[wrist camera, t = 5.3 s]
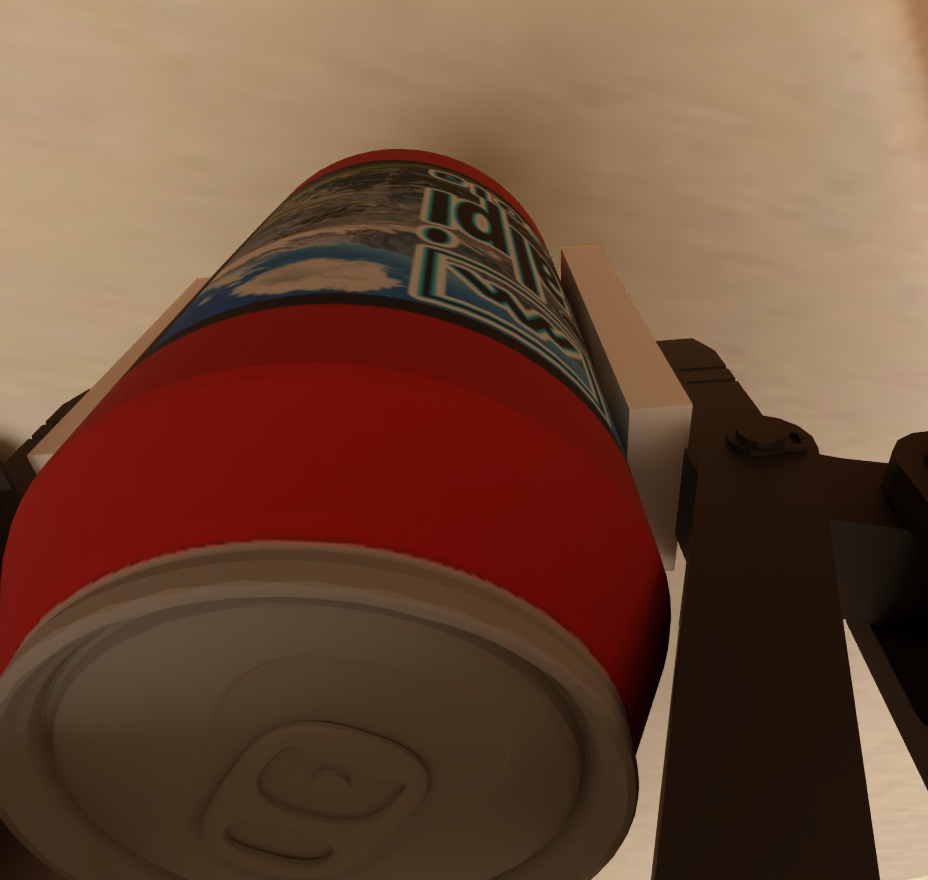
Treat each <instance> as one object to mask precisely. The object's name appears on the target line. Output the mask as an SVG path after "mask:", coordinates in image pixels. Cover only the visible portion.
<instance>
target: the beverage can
mask: <svg viewBox="0 0 928 880" xmlns="http://www.w3.org/2000/svg"><path fill="white" fill-rule="evenodd" d="M670 623H671V606H670V593H669V587H668V581H667V576H666V573H665V569H664V566H663V563H662V559H661V556H660V553H659V550H658V547H657V545H656V542H655V539H654V536H653V533H652V530H651V527H650V524H649V522H648V519H647V516H646V513H645V510H644V507H643V504H642V502H641V499H640V496H639V493H638V490H637V487H636V484H635V482H634V479H633V476H632V473H631V470H630V467H629V464H628V461H627V459H626V456H625V453H624V450H623V447H622V444H621V441H620V439H619V436H618V433H617V430H616V428H615V425H614V422H613V419H612V417H611V414H610V411H609V408H608V406H607V403H606V400H605V397H604V395H603V392H602V389H601V386H600V384H599V381H598V378H597V376H596V373H595V370H594V367H593V365H592V362H591V359H590V356H589V354H588V351H587V348H586V345H585V343H584V340H583V338H582V335H581V332H580V330H579V327H578V325H577V322H576V320H575V317H574V314H573V312H572V309H571V307H570V304H569V302H568V299H567V296H566V294H565V291H564V289H563V286H562V284H561V281H560V279H559V276H558V274H557V272H556V269H555V267H554V264H553V262H552V259H551V257H550V255H549V252H548V250H547V248H546V245H545V243H544V240H543V238H542V236H541V234H540V233H539V231H538V229H537V227H536V225H535V224H534V222H533V221H532V219H531V218H530V216H529V215H528V213H527V212H526V211H525V210H524V208H523V207H522V206H521V205H520V203H519V202H518V201H517V200H516V199H515V198H514V197H513V196H512V195H511V194H510V193H509V192H508V191H506V190H505V189H504V188H503V187H502V186H501V185H500V184H498V183H497V182H496V181H494V180H493V179H491V178H490V177H489V176H487V175H486V174H484V173H482V172H480V171H479V170H477V169H475V168H473V167H471V166H469V165H467V164H465V163H463V162H461V161H458V160H455V159H452V158H450V157H447V156H443V155H439V154H436V153H432V152H425V151H419V150H408V149H387V150H378V151H371V152H367V153H362V154H358V155H355V156H351V157H348V158H345V159H343V160H340V161H338V162H336V163H333V164H331V165H329V166H328V167H326V168H324V169H322V170H320V171H319V172H317V173H316V174H314V175H313V176H311V177H310V178H308V179H307V180H306V181H305V182H303V183H302V184H301V185H300V186H299V187H298V188H296V189H295V190H294V191H293V192H292V193H291V194H290V196H289V197H288V198H287V199H286V200H285V201H284V202H283V203H282V204H281V205H280V206H279V207H278V208H277V209H276V210H275V211H274V212H273V213H272V214H271V215H270V216H269V217H268V218H267V219H266V220H265V221H264V222H263V223H262V224H261V225H260V226H259V227H258V228H257V229H256V230H255V231H254V232H253V233H252V234H251V236H250V237H249V238H248V239H247V240H246V241H245V242H244V243H243V244H242V245H241V246H240V247H239V248H238V249H237V250H236V251H235V252H234V254H233V255H232V256H231V257H230V258H229V259H228V260H227V261H226V262H225V263H224V264H223V265H222V266H221V267H220V268H219V269H218V270H217V272H216V273H215V274H214V275H213V276H212V277H211V278H210V279H209V280H208V281H207V283H206V284H205V285H204V286H203V287H202V288H201V289H200V290H199V291H198V292H197V294H196V295H195V296H194V297H193V298H192V299H191V300H190V301H189V302H188V303H187V305H186V306H185V307H184V308H183V309H182V310H181V311H180V312H179V313H178V314H177V316H176V317H175V318H174V319H173V320H172V321H171V322H170V323H169V324H168V325H167V327H166V328H165V329H164V330H163V331H162V332H161V333H160V334H159V335H158V336H157V338H156V339H155V340H154V341H153V342H152V343H151V344H150V345H149V346H148V348H147V349H146V350H145V351H144V352H143V353H142V354H141V356H140V357H139V358H138V359H137V360H136V361H135V362H134V363H133V365H132V366H131V367H130V368H129V369H128V370H127V371H126V373H125V374H124V375H123V376H122V377H121V378H120V379H119V381H118V382H117V383H116V384H115V385H114V386H113V387H112V389H111V390H110V391H109V392H108V393H107V394H106V395H105V396H104V398H103V399H102V400H101V401H100V402H99V403H98V404H97V406H96V407H95V408H94V409H93V410H92V411H91V412H90V414H89V415H88V416H87V417H86V418H85V419H84V420H83V422H82V423H81V424H80V425H79V426H78V427H77V428H76V429H75V431H74V432H73V433H72V434H71V435H70V436H69V437H68V439H67V440H66V441H65V442H64V443H63V444H62V445H61V447H60V448H59V449H58V450H57V451H56V452H55V453H54V455H53V456H52V457H51V458H50V459H49V460H48V461H47V463H46V464H45V465H44V467H43V468H42V469H41V470H40V472H39V473H38V474H37V476H36V477H35V478H34V480H33V481H32V482H31V484H30V486H29V488H28V489H27V491H26V493H25V495H24V496H23V498H22V500H21V502H20V504H19V506H18V509H17V511H16V514H15V516H14V519H13V521H12V524H11V528H10V532H9V536H8V540H7V544H6V548H5V552H4V556H3V563H2V573H1V599H0V818H1V820H2V821H3V822H4V824H5V825H6V827H7V828H8V829H9V830H10V832H11V833H12V834H13V835H14V836H15V837H16V838H17V839H18V841H20V842H21V843H22V844H23V845H24V846H25V847H26V848H27V849H28V850H29V851H30V852H31V853H32V854H33V855H34V856H35V857H37V858H38V859H39V860H40V861H42V862H43V863H44V864H45V865H46V866H48V867H49V868H51V869H52V870H53V871H55V872H56V873H58V874H59V875H61V876H62V877H64V878H65V879H66V880H591V879H592V878H593V877H594V876H596V875H597V874H598V873H599V872H600V871H601V869H602V868H603V867H604V866H605V865H606V864H607V863H608V862H609V861H610V860H611V859H612V858H613V856H614V855H615V853H616V852H617V850H618V849H619V847H620V846H621V844H622V843H623V841H624V839H625V837H626V836H627V834H628V832H629V829H630V826H631V824H632V821H633V819H634V816H635V812H636V807H637V801H638V792H639V778H638V767H637V761H636V753H637V750H638V747H639V744H640V741H641V738H642V734H643V731H644V728H645V725H646V722H647V719H648V716H649V713H650V709H651V706H652V703H653V700H654V697H655V694H656V691H657V688H658V685H659V681H660V678H661V675H662V672H663V669H664V665H665V660H666V656H667V651H668V644H669V635H670Z"/></svg>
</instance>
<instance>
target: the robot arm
mask: <svg viewBox="0 0 928 880" xmlns="http://www.w3.org/2000/svg"><path fill="white" fill-rule="evenodd" d="M209 279H210V278H200V279H196V280H195V281H194V282H193V283H192V284H191V285H190V287H189V288H188V289H187V290H186V291H185V292H184V293H183V294H182V295H181V296H180V297H179V298H178V299H177V300H176V301H175V302H174V303H173V304H172V305H171V306H170V307H169V308H168V309H167V310H166V311H165V313H164V314H163V315H162V316H161V317H160V318H159V319H158V320H157V321H156V322H155V323H154V324H153V325H152V326H151V327H150V328H149V329H148V330H147V331H146V332H145V333H144V334H143V335H142V336H141V337H140V338H139V340H138V341H137V342H136V343H135V344H134V345H133V346H132V347H131V348H130V349H129V350H128V351H127V352H126V353H125V354H124V355H123V356H122V357H121V358H120V359H119V360H118V361H117V362H116V363H115V364H114V365H113V367H112V368H111V369H110V370H109V371H108V372H107V373H106V374H105V375H104V376H103V377H102V378H101V379H100V380H99V381H98V382H97V383H96V384H95V385H94V386H93V387H92V388H91V389H88V390H87V391H85V392H83V393H82V394H80V395H78V396H76V397H75V398H73V399H71V400H70V401H68V402H66V403H65V404H63V405H62V406H61V407H60V408H59V409H58V410H57V411H56V412H55V413H54V414H53V415H52V416H51V417H50V418H49V419H48V420H47V421H46V425H42V426H41V427H40V428H39V429H38V430H37V431H36V432H35V433H34V434H33V435H32V439H28V440H27V441H26V442H25V443H24V444H23V445H22V446H21V447H20V448H19V449H18V450H17V451H16V452H15V453H14V454H13V455H12V456H11V457H10V458H9V459H8V460H7V461H6V462H5V463H4V464H2V462H1V460H0V599H1V573H2V563H3V556H4V552H5V548H6V544H7V540H8V536H9V532H10V528H11V524H12V521H13V519H14V516H15V514H16V511H17V509H18V506H19V504H20V502H21V500H22V498H23V496H24V495H25V493H26V491H27V489H28V488H29V486H30V484H31V482H32V481H33V480H34V478H35V477H36V476H37V474H38V473H39V472H40V470H41V469H42V468H43V467H44V465H45V464H46V463H47V461H48V460H49V459H50V458H51V457H52V456H53V455H54V453H55V452H56V451H57V450H58V449H59V448H60V447H61V445H62V444H63V443H64V442H65V441H66V440H67V439H68V437H69V436H70V435H71V434H72V433H73V432H74V431H75V429H76V428H77V427H78V426H79V425H80V424H81V423H82V422H83V420H84V419H85V418H86V417H87V416H88V415H89V414H90V412H91V411H92V410H93V409H94V408H95V407H96V406H97V404H98V403H99V402H100V401H101V400H102V399H103V398H104V396H105V395H106V394H107V393H108V392H109V391H110V390H111V389H112V387H113V386H114V385H115V384H116V383H117V382H118V381H119V379H120V378H121V377H122V376H123V375H124V374H125V373H126V371H127V370H128V369H129V368H130V367H131V366H132V365H133V363H134V362H135V361H136V360H137V359H138V358H139V357H140V356H141V354H142V353H143V352H144V351H145V350H146V349H147V348H148V346H149V345H150V344H151V343H152V342H153V341H154V340H155V339H156V338H157V336H158V335H159V334H160V333H161V332H162V331H163V330H164V329H165V328H166V327H167V325H168V324H169V323H170V322H171V321H172V320H173V319H174V318H175V317H176V316H177V314H178V313H179V312H180V311H181V310H182V309H183V308H184V307H185V306H186V305H187V303H188V302H189V301H190V300H191V299H192V298H193V297H194V296H195V295H196V294H197V292H198V291H199V290H200V289H201V288H202V287H203V286H204V285H205V284H206V283H207V281H208V280H209ZM561 284H562V286H563V289H564V291H565V294H566V296H567V299H568V302H569V304H570V307H571V309H572V312H573V314H574V317H575V320H576V322H577V325H578V327H579V330H580V332H581V335H582V338H583V340H584V343H585V345H586V348H587V351H588V354H589V356H590V359H591V362H592V365H593V367H594V370H595V373H596V376H597V378H598V381H599V384H600V386H601V389H602V392H603V395H604V397H605V400H606V403H607V406H608V408H609V411H610V414H611V417H612V419H613V422H614V425H615V428H616V430H617V433H618V436H619V439H620V441H621V444H622V447H623V450H624V453H625V456H626V459H627V461H628V464H629V467H630V470H631V473H632V476H633V479H634V482H635V484H636V487H637V490H638V493H639V496H640V499H641V502H642V504H643V507H644V510H645V513H646V516H647V519H648V522H649V524H650V527H651V530H652V533H653V536H654V539H655V542H656V545H657V547H658V550H659V553H660V556H661V559H662V563H663V566H664V569H665V571H669V570H674V567H675V558H676V549H677V540H678V543H679V545H680V548H681V550H682V552H683V555H684V557H685V560H686V562H687V563H686V571H685V579H684V587H683V595H682V603H681V611H680V619H679V632H678V641H677V650H676V659H675V668H674V677H673V686H672V695H671V704H670V713H669V722H668V731H667V740H666V749H665V758H664V767H663V776H662V785H661V794H660V803H659V812H658V821H657V830H656V839H655V848H654V857H653V866H652V875H651V880H880V876H879V869H878V862H877V855H876V848H875V841H874V834H873V827H872V820H871V813H870V806H869V799H868V792H867V785H866V778H865V771H864V764H863V757H862V750H861V743H860V736H859V729H858V722H857V715H856V708H855V701H854V694H853V687H852V680H851V673H850V666H849V659H848V652H847V645H846V638H845V631H844V624H843V619H846V623H847V625H848V627H849V629H850V631H851V633H852V635H853V637H854V639H855V641H856V643H857V645H858V647H859V650H860V652H861V654H862V656H863V658H864V660H865V662H866V664H867V666H868V668H869V670H870V672H871V674H872V676H873V678H874V681H875V683H876V685H877V687H878V689H879V691H880V693H881V695H882V697H883V699H884V701H885V703H886V705H887V707H888V709H889V712H890V714H891V716H892V718H893V720H894V722H895V724H896V726H897V728H898V730H899V732H900V734H901V736H902V738H903V740H904V742H905V745H906V747H907V749H908V751H909V753H910V755H911V757H912V759H913V761H914V763H915V765H916V767H917V769H918V771H919V773H920V776H921V778H922V780H923V782H924V784H925V786H926V788H927V790H928V431H926V432H918V433H911V434H909V435H907V436H905V437H903V438H901V439H899V440H898V441H897V443H896V445H895V447H894V449H893V451H892V454H891V457H890V461H889V463H880V462H871V461H861V460H852V459H843V458H837V457H831V456H825V455H821V454H819V449H818V446H817V445H816V443H815V441H814V439H813V437H812V436H811V435H810V434H808V433H807V432H806V431H804V430H803V429H802V428H800V427H799V426H797V425H794V424H792V423H789V422H787V421H784V420H782V419H779V418H773V417H768V416H763V415H762V414H761V412H760V411H759V409H758V408H757V407H756V405H755V404H754V403H753V401H752V400H751V399H750V397H749V396H748V395H747V393H746V392H745V391H744V389H743V388H742V387H741V385H740V384H739V383H738V381H737V382H735V377H734V376H733V375H732V373H731V372H730V371H729V369H726V365H725V364H724V362H723V361H722V360H721V358H720V357H719V356H718V354H717V353H716V352H715V350H713V349H711V348H709V347H707V346H706V345H704V344H702V343H700V342H698V341H696V340H695V339H693V338H690V339H677V340H665V341H655V339H654V338H653V336H652V334H651V333H650V331H649V329H648V327H647V326H646V324H645V322H644V321H643V319H642V317H641V316H640V314H639V312H638V310H637V309H636V307H635V305H634V304H633V302H632V300H631V299H630V297H629V295H628V293H627V292H626V290H625V288H624V287H623V285H622V283H621V282H620V280H619V278H618V276H617V275H616V273H615V271H614V270H613V268H612V266H611V265H610V263H609V261H608V259H607V258H606V256H605V254H604V253H603V251H602V249H601V247H600V246H599V244H590V245H579V246H567V247H561ZM0 880H66V879H65V878H64V877H62V876H61V875H59V874H58V873H56V872H55V871H53V870H52V869H51V868H49V867H48V866H46V865H45V864H44V863H43V862H42V861H40V860H39V859H38V858H37V857H35V856H34V855H33V854H32V853H31V852H30V851H29V850H28V849H27V848H26V847H25V846H24V845H23V844H22V843H21V842H20V841H18V839H17V838H16V837H15V836H14V835H13V834H12V833H11V832H10V830H9V829H8V828H7V827H6V825H5V824H4V822H3V821H2V820H1V818H0Z"/></svg>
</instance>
